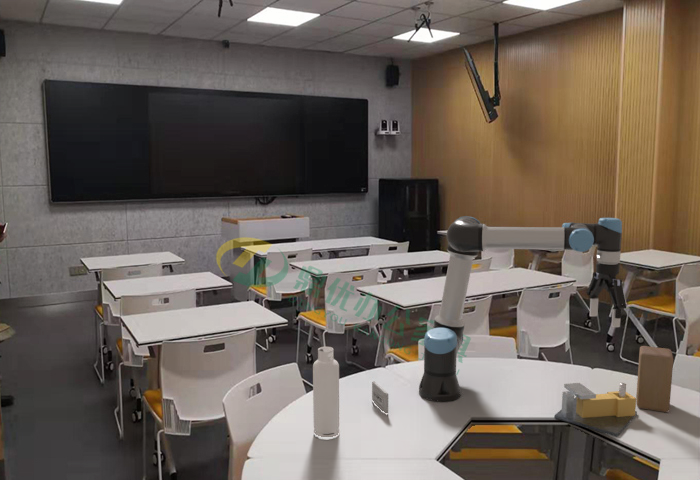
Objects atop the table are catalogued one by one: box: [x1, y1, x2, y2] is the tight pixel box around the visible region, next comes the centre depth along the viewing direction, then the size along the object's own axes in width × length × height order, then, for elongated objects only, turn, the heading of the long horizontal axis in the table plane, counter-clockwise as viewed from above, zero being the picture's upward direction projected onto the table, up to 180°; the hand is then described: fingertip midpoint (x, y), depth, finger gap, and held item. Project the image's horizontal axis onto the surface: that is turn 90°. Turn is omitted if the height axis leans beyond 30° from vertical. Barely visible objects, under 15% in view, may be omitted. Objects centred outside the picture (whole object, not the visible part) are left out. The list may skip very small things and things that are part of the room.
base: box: [554, 382, 638, 438], centre depth 196 cm, size 20×21×11 cm
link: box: [576, 390, 637, 418], centre depth 197 cm, size 18×6×6 cm, turn 99°
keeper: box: [561, 382, 596, 418], centre depth 195 cm, size 8×10×10 cm
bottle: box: [312, 346, 340, 437], centre depth 183 cm, size 8×8×28 cm
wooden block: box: [635, 345, 674, 413], centre depth 204 cm, size 10×10×20 cm
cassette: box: [371, 381, 389, 414], centre depth 203 cm, size 12×2×8 cm, turn 21°
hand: (604, 321), depth 207 cm, fingers open, 13 cm apart
